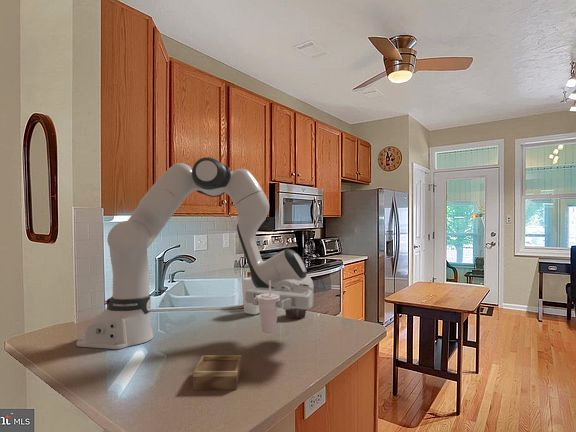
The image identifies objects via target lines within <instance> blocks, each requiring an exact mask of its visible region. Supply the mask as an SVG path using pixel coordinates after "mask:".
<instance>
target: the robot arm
mask: <svg viewBox="0 0 576 432" xmlns="http://www.w3.org/2000/svg"><path fill="white" fill-rule="evenodd" d="M195 191H196V192H197V193H199V194H202V195H205V196H206V197H207V196H208V197H209V198H210V197H211V198H217V197H221V196H223V195H224V194H227V195H228V196H229V197H230V199H231V201H232V202H233V203H232V204H233V205H234V206H235V209H236V211H237V216H238V217H237V219H238V222H237V225H236V231H237V234H238V238H239V241H240V244H241V247H242V250H243V252H244V256H245V259H246V262H247V265H248V268H249V272H250V274H251V279H252V282H253V284H254V286H255V287H256V288H253V289H249V290H247V291H246V293H245V300H246V302H247V303H253V305H259V304H258V301H257V296H258V295H260V294H264V293H269V280H271V293H275V294H278V295H279V296H280V300H279V301H277V308H278V309H283V310H285V309H291V308H298V309H306V310H309V309H311V308H313V306H314V298H315V297H314V286H315V285H314V281H313V279H312V278H311V276H310V275H309V274H308V273H307V267H306V264H305V261H304V259H303V258H302V256H301V255H300V254H299V253H298V252H296V251H295V250H292V249H290V248H286V249H284V250H282V251H280V252H278V253H276V254H274V255H273V256H271V257H270V258H268V259H266V260H263V258H262V256H261V253H260V249H259V247H258V244H257V240H256V235H257V233H258V230H259V228H260V227H261V225H262V224H263V223H264V222H265V220H266V219H267V217H268V215H269V212H270V202H269V199H268V198H267V195H266V193H265V192H264V190H263V188H262V186H261V185H260V183H259V182H258V180H257V179H256V178H255V176H254V175H253V174H252V173H251V171H250V170H249V169H247V168H237V169H234V170H232V171H231V169H230V167H229V166H227V165H225V164H224V163H223V162H220V161H219V160H218V159H215V158H213V157H209V156H208V157H207V156H206V157H201V158H200V159H198V160H197V161H196V162H195V163H194V164H193V166H192V167H191V166H190V165H188V164H186V163H183V162H176V163H175V164H173V165H172V166H170V167H169V168H168V169H167V170H166V171H165V172H164V173H163V174H162V175H161V176H159V178H158V179H157V180H156V181H155V182H154V184H153V185H152V186H151V187H150V188H149V189H148V191H147V192H146V193H145V195H144V196H143V197H142V198H140V200H139V203H138V205H137V206H136V208H135V210H133V212H132V214H131V215H130V216H129V218H128V219H127V220H125V221H120V222H117V223H116V224H115V225H114V226H113V227H112V228H111V229H110V230H109V231H108V234H107V241H106V242H107V244H108V247H109V255H110V263H111V271H112V296H111V297H109V298H108V299H106V300H104V301H103V302H104V306H105V305H106V308H105V310H103V311H102V312H100V313H99V314H98V315H96V316H95V317H94V318H93V319H92V320H90V321H88V324H87V326H86V330H85V334H84V335H82V336H81V337H80V338H78V340H77V341H76V347H82V348H95V349H106V350H107V349H108V350H109V349H111V350H120V349H121V350H122V349H125V348H127V347H132V346H136V345H140V344H144V343H146V342H149V341H151V340H152V339H153V338H154V331H153V328H152V322H151V314H150V312H151V308H152V306H151V305H152V301H151V300H152V299H151V294H150V268H149V259H148V248H150V246H151V245H152V243H154V241H155V239H156V238H157V237H158V236H159V234H160V233H161V232H162V230H163V228H164V227H165V226H166V224H167V223H168V222H169V220H170V219H171V217H173V215H174V214H175V213H176V211H177V210H178V209H179V208H180V207H181V205H182V204H183V202H185V201H186V199H187V198H188V196H190V195H191V193H193V192H195Z"/></svg>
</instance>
